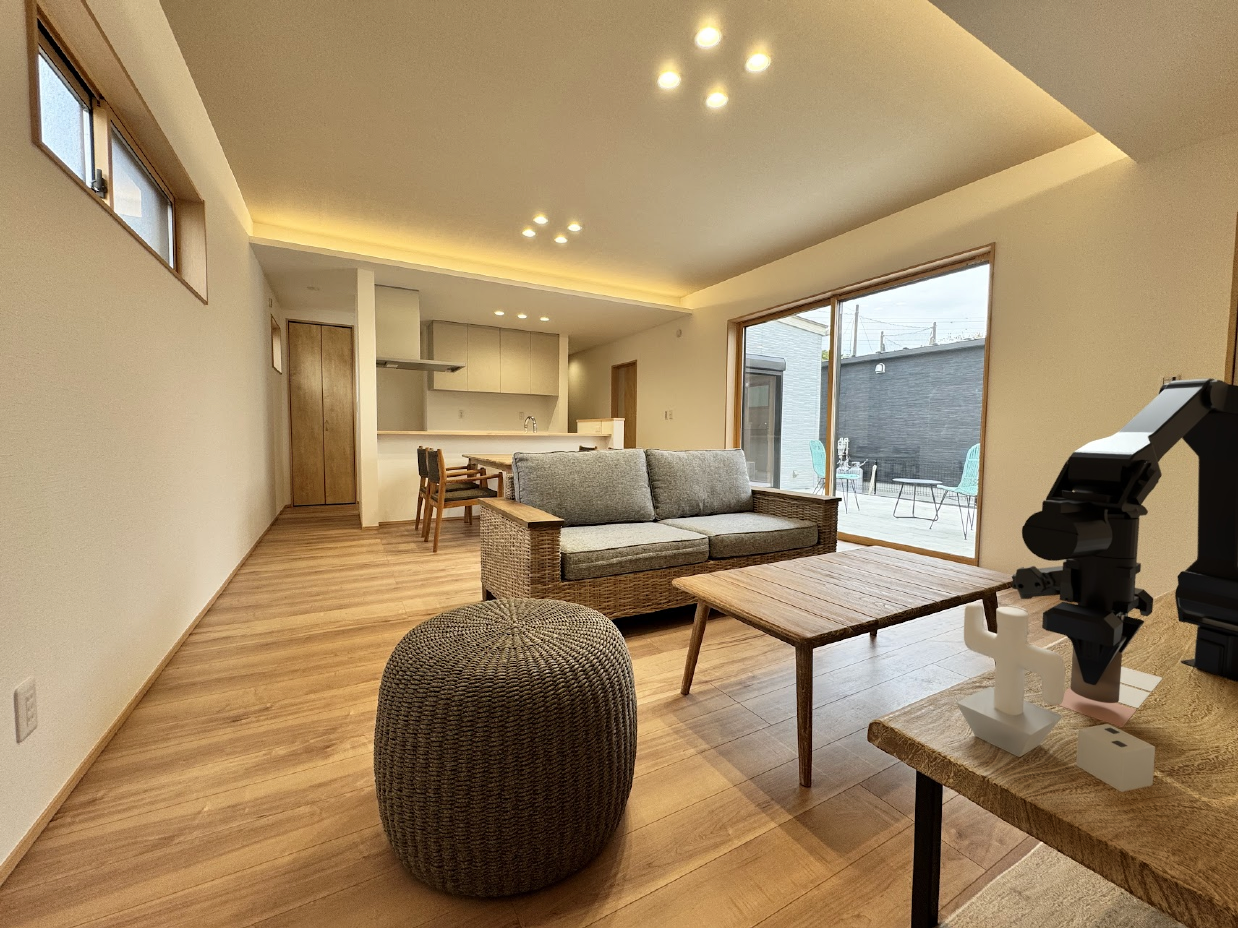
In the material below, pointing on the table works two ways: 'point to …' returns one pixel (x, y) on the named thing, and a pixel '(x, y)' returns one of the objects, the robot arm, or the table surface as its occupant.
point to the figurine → (1011, 682)
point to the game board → (1126, 696)
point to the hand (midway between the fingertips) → (1095, 678)
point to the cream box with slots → (1115, 757)
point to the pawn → (1105, 687)
